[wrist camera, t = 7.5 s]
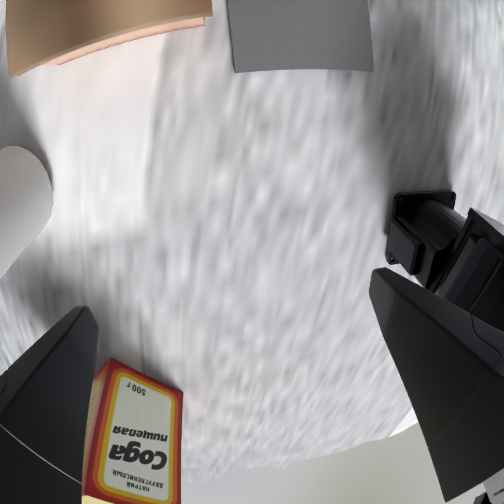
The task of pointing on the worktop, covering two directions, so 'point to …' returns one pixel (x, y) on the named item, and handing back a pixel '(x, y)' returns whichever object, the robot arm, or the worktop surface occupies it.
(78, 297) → the worktop surface
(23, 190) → the can
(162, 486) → the baking soda box
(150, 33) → the dish
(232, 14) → the mat
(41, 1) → the lid
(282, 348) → the worktop surface
